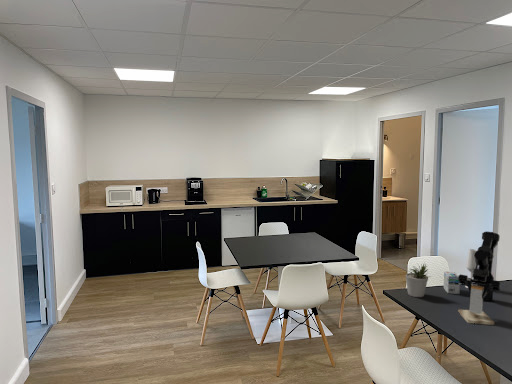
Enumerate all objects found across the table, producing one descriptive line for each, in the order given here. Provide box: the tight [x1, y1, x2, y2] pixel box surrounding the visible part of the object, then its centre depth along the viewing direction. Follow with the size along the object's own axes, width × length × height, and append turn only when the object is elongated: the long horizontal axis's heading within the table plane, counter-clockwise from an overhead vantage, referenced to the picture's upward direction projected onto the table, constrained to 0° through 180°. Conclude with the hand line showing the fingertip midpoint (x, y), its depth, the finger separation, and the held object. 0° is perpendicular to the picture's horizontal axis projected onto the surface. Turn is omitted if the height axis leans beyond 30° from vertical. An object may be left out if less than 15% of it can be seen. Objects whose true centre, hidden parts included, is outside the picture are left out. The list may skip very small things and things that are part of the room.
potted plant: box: [405, 261, 431, 298], centre depth 231 cm, size 13×14×20 cm
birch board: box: [457, 309, 495, 326], centre depth 199 cm, size 12×14×2 cm
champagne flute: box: [464, 248, 478, 289], centre depth 247 cm, size 7×7×24 cm
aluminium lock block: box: [468, 284, 484, 314], centre depth 199 cm, size 5×5×13 cm
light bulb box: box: [442, 270, 461, 295], centre depth 240 cm, size 11×7×11 cm, turn 168°
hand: (476, 296), depth 197 cm, fingers closed on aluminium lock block, 5 cm apart
